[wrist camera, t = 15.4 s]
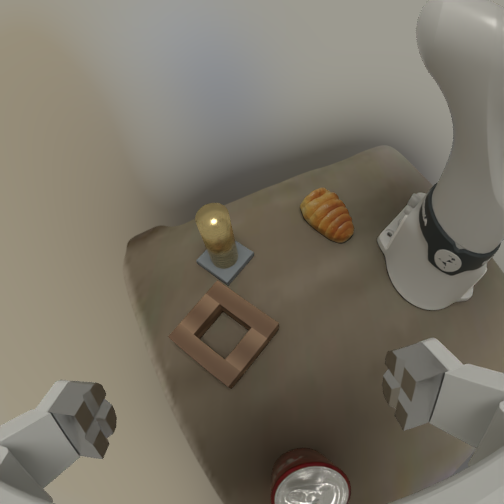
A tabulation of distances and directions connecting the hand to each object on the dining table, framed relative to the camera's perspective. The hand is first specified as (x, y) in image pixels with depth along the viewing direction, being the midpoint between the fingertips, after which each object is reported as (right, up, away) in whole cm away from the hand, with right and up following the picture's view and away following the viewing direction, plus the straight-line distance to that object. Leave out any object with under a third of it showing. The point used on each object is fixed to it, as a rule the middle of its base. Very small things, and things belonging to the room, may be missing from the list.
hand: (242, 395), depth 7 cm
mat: (-4, +3, +38) cm, 38 cm away
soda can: (+6, -24, +22) cm, 33 cm away
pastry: (+12, +9, +41) cm, 44 cm away
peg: (-4, +3, +37) cm, 37 cm away
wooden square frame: (-3, -7, +32) cm, 33 cm away
